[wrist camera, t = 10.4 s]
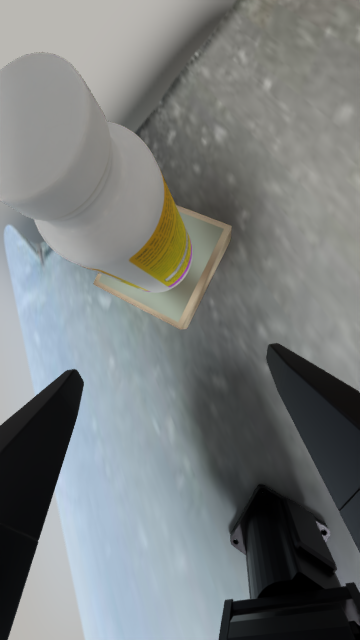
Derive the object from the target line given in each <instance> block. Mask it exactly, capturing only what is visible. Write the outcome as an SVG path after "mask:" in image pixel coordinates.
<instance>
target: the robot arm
mask: <svg viewBox="0 0 360 640" xmlns="http://www.w3.org/2000/svg"><path fill="white" fill-rule="evenodd" d="M266 359H267V363H268V366H269V369H270V371H271V374H272V377H273V379H274V382H275V385H276V387H277V390H278V392H279V394H280V396H281V398H282V400H283V402H284V404H285V406H286V408H287V410H288V412H289V414H290V416H291V418H292V420H293V422H294V424H295V426H296V428H297V430H298V432H299V434H300V436H301V438H302V440H303V442H304V444H305V446H306V447H307V449H308V451H309V453H310V455H311V457H312V459H313V461H314V463H315V465H316V467H317V469H318V471H319V473H320V475H321V477H322V479H323V481H324V483H325V485H326V487H327V489H328V491H329V493H330V495H331V496H332V498H333V500H334V502H335V504H336V506H337V508H338V510H339V512H340V514H341V516H342V518H343V520H344V522H345V524H346V526H347V528H348V530H349V532H350V534H351V536H352V538H353V540H354V542H355V544H356V546H357V548H358V550H359V552H360V393H359V391H358V390H356V389H354V388H353V387H351V386H349V385H348V384H346V383H344V382H343V381H341V380H339V379H337V378H336V377H334V376H332V375H331V374H329V373H327V372H326V371H324V370H322V369H321V368H319V367H317V366H316V365H314V364H312V363H311V362H309V361H307V360H306V359H304V358H302V357H301V356H299V355H297V354H296V353H294V352H292V351H290V350H289V349H287V348H285V347H284V346H282V345H280V344H278V343H275V344H269V345H268V349H267V356H266ZM83 386H84V382H83V379H82V378H81V376H80V374H79V372H78V371H77V370H76V369H72V370H67V371H65V372H64V373H63V374H62V375H60V376H59V377H58V378H57V379H56V380H54V381H53V382H52V383H51V384H50V385H48V386H47V387H46V388H45V389H44V390H42V391H41V392H40V393H39V394H38V395H36V396H35V397H34V398H33V399H32V400H30V401H29V402H28V403H27V404H26V405H24V406H23V407H22V408H21V409H20V410H18V411H17V412H16V413H15V414H14V415H12V416H11V417H10V418H9V419H8V420H6V421H5V422H4V423H3V424H2V425H0V640H8V637H9V634H10V631H11V627H12V624H13V621H14V618H15V615H16V612H17V608H18V605H19V602H20V599H21V596H22V592H23V589H24V586H25V583H26V580H27V577H28V573H29V570H30V567H31V564H32V560H33V557H34V554H35V551H36V548H37V545H38V540H39V538H40V534H41V531H42V528H43V525H44V522H45V518H46V515H47V512H48V509H49V506H50V502H51V499H52V496H53V493H54V490H55V486H56V483H57V480H58V477H59V474H60V470H61V467H62V464H63V461H64V458H65V454H66V451H67V448H68V445H69V442H70V438H71V435H72V432H73V429H74V426H75V422H76V419H77V415H78V411H79V406H80V401H81V396H82V391H83ZM261 491H265V492H264V493H262V492H261ZM322 529H324V531H321V530H322ZM329 537H330V531H329V529H328V527H327V525H326V524H325V523H323V522H322V521H320V520H319V519H317V518H315V517H314V516H313V514H312V513H310V512H309V511H307V510H305V509H304V508H302V507H301V506H299V505H297V504H296V503H294V502H293V501H291V500H290V499H288V498H286V497H282V496H281V495H279V494H278V493H276V492H274V491H273V490H271V489H270V488H268V487H267V486H265V485H259V486H258V487H257V488H256V490H255V492H254V494H253V495H252V497H251V499H250V501H249V503H248V504H247V506H246V508H245V510H244V512H243V513H242V515H241V517H240V519H239V520H238V522H237V524H236V526H235V528H234V529H233V531H232V533H231V535H230V541H231V544H232V545H233V546H234V547H235V548H237V549H238V550H240V551H241V552H242V553H244V554H245V555H246V561H247V572H248V582H249V593H250V599H247V600H239V601H233V599H229V600H225V602H224V609H223V615H222V621H221V627H220V634H219V640H360V593H359V591H358V589H357V587H356V585H355V583H354V582H353V583H346V586H343V587H341V585H340V583H339V580H338V578H337V576H336V574H335V572H336V570H337V567H336V564H335V562H334V560H333V558H332V555H331V553H330V551H329V549H328V547H327V545H326V542H327V540H328V538H329ZM234 539H237V540H234Z"/></svg>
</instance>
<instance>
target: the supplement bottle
mask: <svg viewBox="0 0 360 640" xmlns="http://www.w3.org/2000/svg"><path fill="white" fill-rule="evenodd" d="M0 201H1V202H3V203H4V204H6V205H8V206H10V207H11V208H13V209H15V210H16V211H18V212H19V213H21V214H23V215H25V216H27V217H29V218H32V219H34V221H35V224H36V226H37V228H38V230H39V232H40V234H41V235H42V237H43V238H44V240H45V241H46V243H47V244H48V245H49V246H50V247H51V248H52V249H53V250H54V251H55V252H56V253H58V254H59V255H60V256H62V257H63V258H65V259H66V260H68V261H70V262H73V263H75V264H77V265H80V266H82V267H85V268H87V269H90V270H93V271H95V272H98V273H100V274H103V275H105V276H108V277H110V278H113V279H115V280H118V281H120V282H123V283H125V284H127V285H130V286H133V287H135V288H137V289H140V290H143V291H146V292H152V293H159V292H164V291H168V290H170V289H172V288H174V287H175V286H177V285H178V284H179V283H180V282H181V281H182V280H183V279H184V278H185V276H186V275H187V273H188V271H189V269H190V267H191V264H192V259H193V248H192V243H191V239H190V237H189V234H188V232H187V230H186V227H185V225H184V223H183V221H182V218H181V216H180V214H179V211H178V209H177V207H176V205H175V202H174V200H173V198H172V196H171V193H170V191H169V189H168V186H167V184H166V182H165V179H164V177H163V175H162V173H161V170H160V168H159V166H158V164H157V162H156V160H155V158H154V156H153V154H152V152H151V151H150V149H149V148H148V147H147V145H146V144H145V143H144V142H143V141H142V139H141V138H140V137H138V136H137V135H136V134H135V133H134V132H132V131H131V130H129V129H127V128H126V127H124V126H122V125H119V124H116V123H113V122H109V121H106V118H105V115H104V113H103V111H102V109H101V108H100V106H99V105H98V103H97V101H96V99H95V98H94V96H93V94H92V93H91V91H90V89H89V88H88V86H87V84H86V83H85V81H84V80H83V78H82V77H81V75H80V74H79V72H78V71H77V70H76V69H75V68H74V67H73V65H72V64H70V63H69V62H68V61H67V60H65V59H64V58H62V57H60V56H58V55H55V54H51V53H44V52H41V53H40V52H39V53H31V54H26V55H24V56H21V57H19V58H17V59H15V60H14V61H12V62H10V63H9V64H8V65H6V66H5V67H4V68H2V69H1V70H0Z"/></svg>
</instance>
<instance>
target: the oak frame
mask: <svg viewBox="0 0 360 640" xmlns="http://www.w3.org/2000/svg"><path fill="white" fill-rule="evenodd" d="M176 207H177V209H178V211H179V214H180V216H181V218H182V221H183V223H184V225H185V227H186V230H187V232H188V234H189V237H190V239H191V243H192V248H193V259H192V264H191V267H190V269H189V271H188V273H187V275H186V276H185V278H184V279H183V280H182V281H181V282H180V283H179V284H178V285H177V286H175V287H174V288H172V289H170V290H168V291H164V292H159V293H152V292H146V291H143V290H140V289H137V288H135V287H133V286H130V285H127V284H125V283H123V282H120V281H118V280H115V279H113V278H110V277H108V276H105V275H103V274H100V273H98V275H97V277H96V279H95V281H94V285H96V286H98V287H100V288H102V289H103V290H105V291H107V292H109V293H111V294H113V295H115V296H117V297H119V298H121V299H123V300H125V301H127V302H128V303H130V304H132V305H134V306H136V307H138V308H140V309H142V310H144V311H146V312H148V313H150V314H152V315H154V316H155V317H157V318H159V319H161V320H163V321H165V322H167V323H169V324H171V325H173V326H175V327H177V328H179V329H181V330H182V329H187V328H188V326H189V324H190V322H191V320H192V318H193V315H194V313H195V311H196V309H197V307H198V305H199V303H200V301H201V299H202V297H203V295H204V293H205V291H206V289H207V287H208V285H209V283H210V281H211V279H212V277H213V275H214V273H215V271H216V269H217V267H218V265H219V263H220V261H221V259H222V257H223V255H224V253H225V251H226V249H227V247H228V245H229V243H230V240H231V229H232V226H230V225H228V224H225V223H223V222H220V221H217V220H215V219H212V218H209V217H207V216H204V215H201V214H199V213H196V212H194V211H191V210H188V209H186V208H183V207H180V206H178V205H176Z"/></svg>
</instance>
